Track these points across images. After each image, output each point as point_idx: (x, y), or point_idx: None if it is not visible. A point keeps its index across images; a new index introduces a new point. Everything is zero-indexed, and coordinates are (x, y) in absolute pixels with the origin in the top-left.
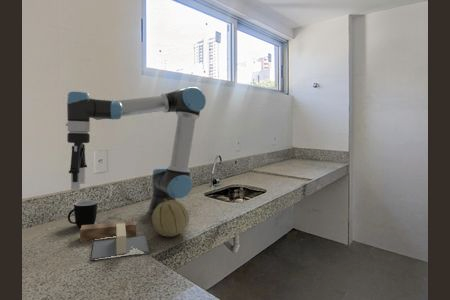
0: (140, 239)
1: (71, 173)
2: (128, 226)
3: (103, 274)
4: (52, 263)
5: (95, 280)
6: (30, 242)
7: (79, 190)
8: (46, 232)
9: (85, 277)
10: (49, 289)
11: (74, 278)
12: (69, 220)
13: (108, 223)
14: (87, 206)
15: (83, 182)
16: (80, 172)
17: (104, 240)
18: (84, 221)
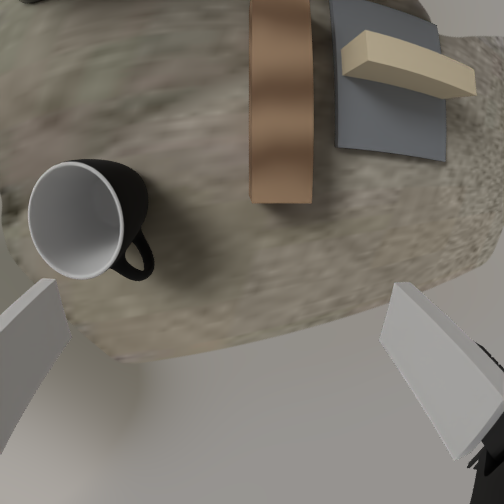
0: (361, 12)
1: (472, 448)
2: (309, 19)
3: (487, 143)
4: (415, 249)
5: (497, 160)
6: (249, 336)
7: (408, 282)
8: (169, 315)
9: (486, 176)
10: (491, 233)
11: (482, 196)
12: (153, 264)
13: (261, 87)
14: (123, 203)
15: (52, 295)
16: (6, 391)
17: (340, 113)
18: (146, 202)
